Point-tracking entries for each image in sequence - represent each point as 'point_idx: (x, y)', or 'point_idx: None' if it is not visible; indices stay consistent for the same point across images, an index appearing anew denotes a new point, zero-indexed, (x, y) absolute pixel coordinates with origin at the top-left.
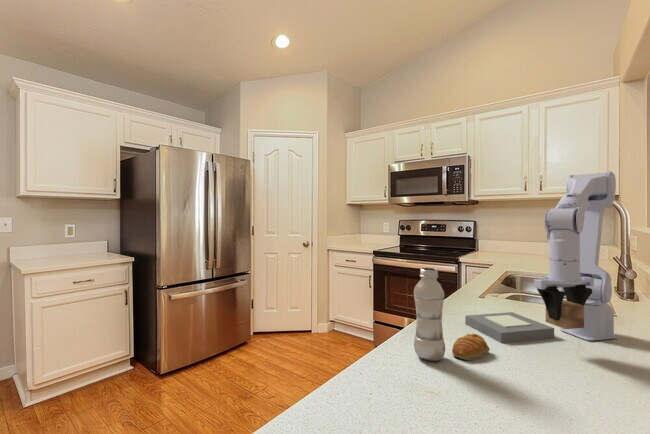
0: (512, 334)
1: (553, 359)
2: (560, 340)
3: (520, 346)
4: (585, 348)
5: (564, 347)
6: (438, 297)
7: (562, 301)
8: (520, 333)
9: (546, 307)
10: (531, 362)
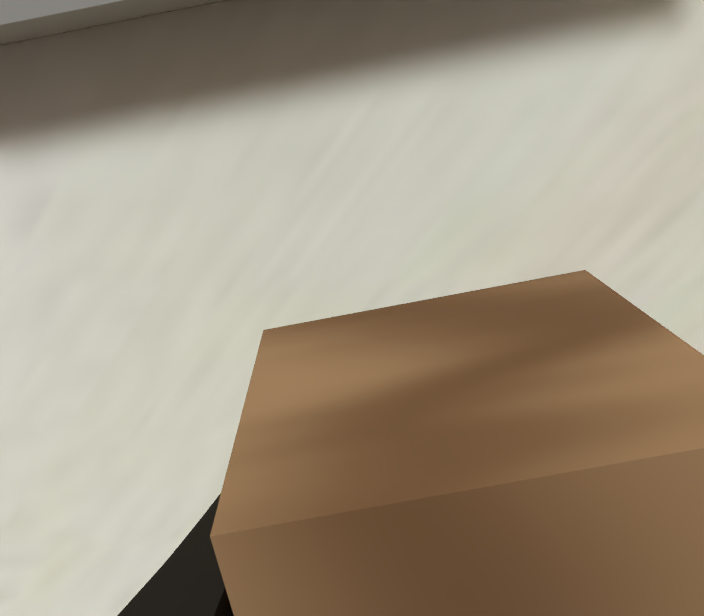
0: (13, 29)
1: (218, 424)
2: (619, 6)
3: (77, 162)
4: (684, 219)
5: (505, 193)
6: None
7: (627, 580)
8: (131, 3)
9: (164, 571)
10: (6, 471)
